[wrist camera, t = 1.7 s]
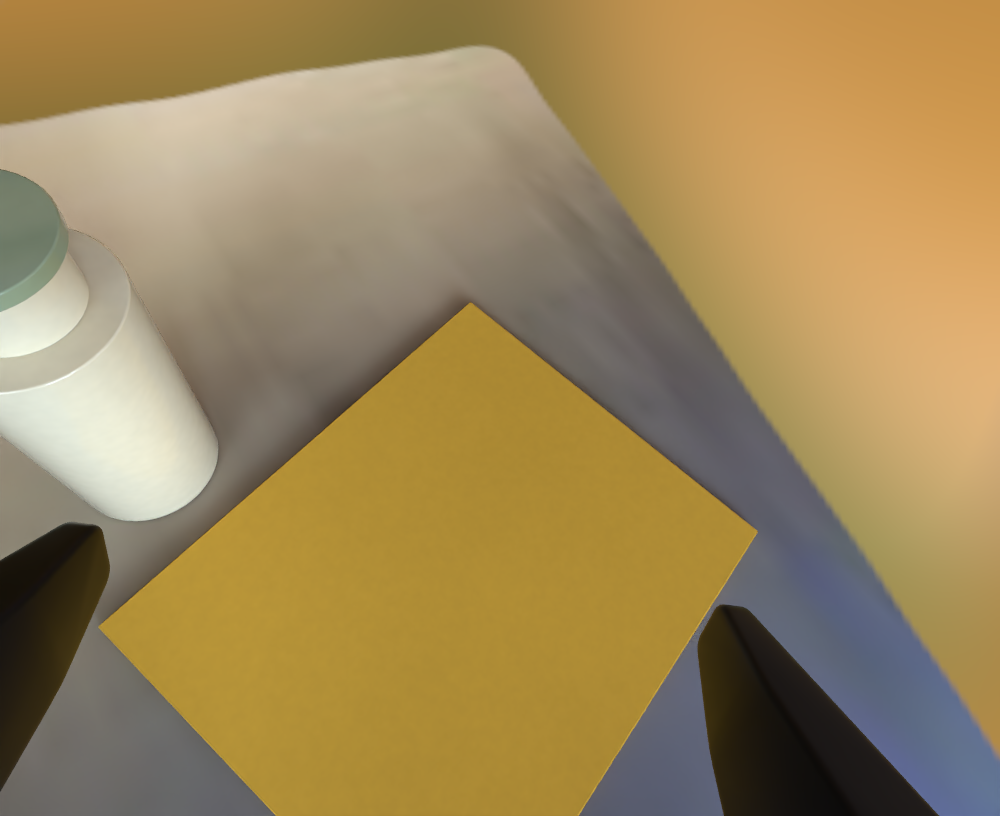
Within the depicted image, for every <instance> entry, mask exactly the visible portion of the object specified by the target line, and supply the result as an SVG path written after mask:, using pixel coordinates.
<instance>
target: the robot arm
mask: <svg viewBox="0 0 1000 816" xmlns="http://www.w3.org/2000/svg"><path fill="white" fill-rule="evenodd" d="M109 572H110V564H109V559H108V554H107V549H106V545H105V540H104V535H103V532H102V529H101V528H100V527H99V526H97V525H93V524H85V523H77V522H67V523H64V524H62V525H60V526H58V527H56V528H55V529H53V530H51V531H50V532H48V533H46V534H45V535H43V536H41V537H39V538H38V539H36V540H34V541H33V542H31V543H29V544H27V545H26V546H24V547H22V548H21V549H19V550H17V551H15V552H14V553H12V554H10V555H9V556H7V557H5V558H3V559H2V560H0V791H1V789H2V788H3V786H4V784H5V782H6V781H7V779H8V777H9V776H10V774H11V772H12V770H13V769H14V767H15V765H16V763H17V762H18V760H19V758H20V756H21V755H22V753H23V751H24V750H25V748H26V746H27V744H28V743H29V741H30V739H31V737H32V736H33V734H34V732H35V730H36V729H37V727H38V725H39V723H40V722H41V720H42V718H43V717H44V715H45V713H46V711H47V710H48V708H49V706H50V704H51V703H52V701H53V699H54V697H55V695H56V693H57V692H58V690H59V688H60V686H61V684H62V682H63V680H64V678H65V676H66V674H67V671H68V669H69V667H70V665H71V663H72V660H73V658H74V656H75V654H76V651H77V649H78V647H79V644H80V642H81V640H82V638H83V635H84V633H85V631H86V629H87V626H88V624H89V622H90V620H91V617H92V615H93V613H94V610H95V608H96V606H97V604H98V601H99V599H100V597H101V595H102V592H103V590H104V588H105V586H106V583H107V581H108V577H109ZM698 660H699V668H700V677H701V685H702V693H703V702H704V710H705V719H706V727H707V735H708V742H709V749H710V755H711V760H712V765H713V769H714V774H715V778H716V783H717V787H718V792H719V796H720V801H721V805H722V809H723V814H724V816H939V815H938V814H937V813H936V812H935V811H934V810H933V809H932V808H931V807H930V805H929V804H928V803H927V802H926V801H925V800H924V799H923V798H922V797H921V796H920V795H919V794H918V792H917V791H916V790H915V789H914V788H913V787H912V786H911V785H910V784H909V783H908V782H907V781H906V779H905V778H904V777H903V776H902V775H901V774H900V773H899V772H898V771H897V770H896V769H895V768H894V766H893V765H892V764H891V763H890V762H889V761H888V760H887V759H886V758H885V757H884V756H883V755H882V754H881V752H880V751H879V750H878V749H877V748H876V747H875V746H874V745H873V744H872V743H871V742H870V741H869V739H868V738H867V737H866V736H865V735H864V734H863V733H862V732H861V731H860V730H859V729H858V728H857V726H856V725H855V724H854V723H853V722H852V721H851V720H850V719H849V718H848V717H847V716H846V715H845V713H844V712H843V711H842V710H841V709H840V708H839V707H838V706H837V705H836V704H835V703H834V702H833V701H832V699H831V698H830V697H829V696H828V695H827V694H826V693H825V692H824V691H823V690H822V689H821V688H820V686H819V685H818V684H817V683H816V682H815V681H814V680H813V679H812V678H811V677H810V676H809V675H808V673H807V672H806V671H805V670H804V669H803V668H802V667H801V666H800V665H799V664H798V663H797V662H796V660H795V659H794V658H793V657H792V656H791V655H790V654H789V653H788V652H787V651H786V650H785V649H784V648H783V646H782V645H781V644H780V643H779V642H778V641H777V640H776V639H775V638H774V637H773V636H772V635H771V633H770V632H769V631H768V630H767V629H766V628H765V627H764V626H763V625H762V624H761V623H760V622H759V620H758V619H757V618H756V617H755V616H754V615H753V614H752V613H751V612H750V611H749V610H748V609H746V608H744V607H740V606H732V605H719V606H718V607H716V609H715V610H714V612H713V614H712V616H711V617H710V619H709V621H708V623H707V624H706V626H705V628H704V630H703V632H702V633H701V635H700V638H699V641H698Z"/></svg>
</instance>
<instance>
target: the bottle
mask: <svg viewBox="0 0 1000 816" xmlns="http://www.w3.org/2000/svg"><path fill="white" fill-rule="evenodd" d="M0 436H1V437H2V438H4V439H5V440H6V441H7V442H9V443H10V444H11V445H13V446H14V447H15V448H16V449H18V450H19V451H20V452H22V453H23V454H24V455H25V456H27V457H28V458H29V459H31V460H32V461H33V462H34V463H36V464H37V465H38V466H40V467H41V468H42V469H43V470H45V471H46V472H47V473H49V474H50V475H51V476H52V477H54V478H55V479H56V480H58V481H59V482H60V483H61V484H63V485H64V486H65V487H67V488H68V489H69V490H70V491H72V492H73V493H74V494H76V495H77V496H78V497H79V498H81V499H82V500H83V501H85V502H86V503H87V504H89V505H90V506H91V507H92V508H94V509H95V510H97V511H98V512H100V513H102V514H104V515H106V516H109V517H112V518H115V519H119V520H126V521H143V520H150V519H155V518H159V517H162V516H165V515H168V514H170V513H172V512H174V511H177V510H178V509H180V508H182V507H183V506H185V505H186V504H188V503H189V502H190V501H192V500H193V499H194V498H195V497H196V496H197V495H198V494H199V493H200V492H201V491H202V490H203V488H204V487H205V486H206V485H207V483H208V481H209V480H210V478H211V476H212V474H213V472H214V470H215V467H216V464H217V458H218V441H217V437H216V433H215V431H214V429H213V427H212V425H211V423H210V421H209V419H208V418H207V416H206V414H205V412H204V410H203V408H202V407H201V405H200V403H199V401H198V399H197V398H196V396H195V394H194V392H193V390H192V389H191V387H190V385H189V383H188V381H187V380H186V378H185V376H184V374H183V372H182V371H181V369H180V367H179V365H178V363H177V362H176V360H175V358H174V356H173V354H172V353H171V351H170V349H169V347H168V345H167V344H166V342H165V340H164V338H163V336H162V335H161V333H160V331H159V329H158V327H157V325H156V324H155V322H154V320H153V318H152V316H151V315H150V313H149V311H148V309H147V307H146V306H145V304H144V302H143V300H142V298H141V297H140V295H139V293H138V291H137V289H136V288H135V286H134V284H133V282H132V280H131V279H130V277H129V275H128V273H127V271H126V270H125V268H124V266H123V264H122V263H121V262H120V260H119V259H118V257H117V256H116V255H115V254H114V253H113V252H112V251H111V250H110V249H109V248H107V247H106V246H105V245H104V244H102V243H101V242H99V241H97V240H96V239H94V238H92V237H90V236H88V235H86V234H83V233H81V232H79V231H75V230H72V229H68V228H67V224H66V221H65V219H64V217H63V215H62V213H61V212H60V210H59V209H58V207H57V205H56V204H55V202H54V201H53V199H52V198H51V196H50V195H49V194H48V193H47V192H46V191H45V190H44V189H43V188H41V187H40V186H39V185H37V184H36V183H34V182H33V181H31V180H29V179H27V178H26V177H23V176H21V175H18V174H16V173H13V172H9V171H6V170H1V169H0Z"/></svg>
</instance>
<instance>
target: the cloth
mask: <svg viewBox="0 0 1000 816" xmlns="http://www.w3.org/2000/svg"><path fill="white" fill-rule="evenodd" d="M757 532H758V531H757V530H756V529H754V528H753V527H752V526H751V525H749V524H748V523H747V522H746V521H744V520H743V519H742V518H741V517H739V516H738V515H737V514H736V513H734V512H733V511H732V510H731V509H729V508H728V507H727V506H726V505H724V504H723V503H722V502H721V501H719V500H718V499H717V498H716V497H714V496H713V495H712V494H710V493H709V492H708V491H707V490H705V489H704V488H703V487H702V486H700V485H699V484H698V483H697V482H695V481H694V480H693V479H692V478H690V477H689V476H688V475H687V474H685V473H684V472H683V471H682V470H680V469H679V468H678V467H677V466H675V465H674V464H673V463H672V462H670V461H669V460H668V459H667V458H665V457H664V456H663V455H662V454H660V453H659V452H658V451H657V450H655V449H654V448H653V447H652V446H650V445H649V444H648V443H647V442H645V441H644V440H643V439H642V438H640V437H639V436H638V435H637V434H635V433H634V432H633V431H632V430H630V429H629V428H628V427H627V426H625V425H624V424H623V423H622V422H620V421H619V420H618V419H617V418H615V417H614V416H613V415H612V414H610V413H609V412H608V411H606V410H605V409H604V408H603V407H601V406H600V405H599V404H598V403H596V402H595V401H594V400H593V399H591V398H590V397H589V396H588V395H586V394H585V393H584V392H583V391H581V390H580V389H579V388H578V387H576V386H575V385H574V384H573V383H571V382H570V381H569V380H568V379H566V378H565V377H564V376H563V375H561V374H560V373H559V372H558V371H556V370H555V369H554V368H553V367H551V366H550V365H549V364H548V363H546V362H545V361H544V360H543V359H541V358H540V357H539V356H538V355H536V354H535V353H534V352H533V351H531V350H530V349H529V348H528V347H526V346H525V345H524V344H523V343H521V342H520V341H519V340H518V339H516V338H515V337H514V336H513V335H511V334H510V333H509V332H507V331H506V330H505V329H504V328H502V327H501V326H500V325H499V324H497V323H496V322H495V321H494V320H492V319H491V318H490V317H489V316H487V315H486V314H485V313H484V312H482V311H481V310H480V309H479V308H477V307H476V306H475V305H474V304H472V303H471V302H470V303H469V304H468V305H466V306H465V307H464V308H463V309H462V310H461V311H459V312H458V313H457V314H456V315H455V316H454V317H453V318H451V319H450V320H449V321H448V322H447V323H446V324H445V325H443V326H442V327H441V328H440V329H439V330H438V331H437V332H435V333H434V334H433V335H432V336H431V337H430V338H429V339H427V340H426V341H425V342H424V343H423V344H422V345H421V346H419V347H418V348H417V349H416V350H415V351H414V352H412V353H411V354H410V355H409V356H408V357H407V358H406V359H404V360H403V361H402V362H401V363H400V364H399V365H398V366H396V367H395V368H394V369H393V370H392V371H391V372H390V373H388V374H387V375H386V376H385V377H384V378H383V379H382V380H380V381H379V382H378V383H377V384H376V385H375V386H374V387H372V388H371V389H370V390H369V391H368V392H367V393H365V394H364V395H363V396H362V397H361V398H360V399H359V400H357V401H356V402H355V403H354V404H353V405H352V406H351V407H349V408H348V409H347V410H346V411H345V412H344V413H343V414H341V415H340V416H339V417H338V418H337V419H336V420H335V421H333V422H332V423H331V424H330V425H329V426H328V427H327V428H325V429H324V430H323V431H322V432H321V433H320V434H318V435H317V436H316V437H315V438H314V439H313V440H312V441H310V442H309V443H308V444H307V445H306V446H305V447H304V448H302V449H301V450H300V451H299V452H298V453H297V454H296V455H294V456H293V457H292V458H291V459H290V460H289V461H288V462H286V463H285V464H284V465H283V466H282V467H281V468H279V469H278V470H277V471H276V472H275V473H274V474H273V475H271V476H270V477H269V478H268V479H267V480H266V481H265V482H263V483H262V484H261V485H260V486H259V487H258V488H257V489H255V490H254V491H253V492H252V493H251V494H250V495H249V496H247V497H246V498H245V499H244V500H243V501H242V502H241V503H239V504H238V505H237V506H236V507H235V508H234V509H232V510H231V511H230V512H229V513H228V514H227V515H226V516H224V517H223V518H222V519H221V520H220V521H219V522H218V523H216V524H215V525H214V526H213V527H212V528H211V529H210V530H208V531H207V532H206V533H205V534H204V535H203V536H202V537H200V538H199V539H198V540H197V541H196V542H195V543H194V544H192V545H191V546H190V547H189V548H188V549H187V550H185V551H184V552H183V553H182V554H181V555H180V556H179V557H177V558H176V559H175V560H174V561H173V562H172V563H171V564H169V565H168V566H167V567H166V568H165V569H164V570H163V571H161V572H160V573H159V574H158V575H157V576H156V577H155V578H153V579H152V580H151V581H150V582H149V583H148V584H147V585H145V586H144V587H143V588H142V589H141V590H140V591H138V592H137V593H136V594H135V595H134V596H133V597H132V598H130V599H129V600H128V601H127V602H126V603H125V604H124V605H122V606H121V607H120V608H119V609H118V610H117V611H116V612H114V613H113V614H112V615H111V616H110V617H109V618H108V619H106V620H105V621H104V622H103V623H102V624H101V625H100V626H99V628H100V629H101V631H102V632H103V633H104V634H105V635H106V636H107V637H108V638H109V639H110V640H111V641H112V642H113V643H114V644H115V645H116V646H117V648H118V649H119V650H120V651H121V652H122V653H123V654H124V655H125V656H126V657H127V658H128V659H129V660H130V661H131V662H132V663H133V664H134V666H135V667H136V668H137V669H138V670H139V671H140V672H141V673H142V674H143V675H144V676H145V677H146V678H147V679H148V680H149V681H150V683H151V684H152V685H153V686H154V687H155V688H156V689H157V690H158V691H159V692H160V693H161V694H162V695H163V696H164V697H165V698H166V699H167V701H168V702H169V703H170V704H171V705H172V706H173V707H174V708H175V709H176V710H177V711H178V712H179V713H180V714H181V715H182V716H183V718H184V719H185V720H186V721H187V722H188V723H189V724H190V725H191V726H192V727H193V728H194V729H195V730H196V731H197V732H198V733H199V734H200V736H201V737H202V738H203V739H204V740H205V741H206V742H207V743H208V744H209V745H210V746H211V747H212V748H213V749H214V750H215V751H216V753H217V754H218V755H219V756H220V757H221V758H222V759H223V760H224V761H225V762H226V763H227V764H228V765H229V766H230V767H231V768H232V769H233V771H234V772H235V773H236V774H237V775H238V776H239V777H240V778H241V779H242V780H243V781H244V782H245V783H246V784H247V785H248V786H249V788H250V789H251V790H252V791H253V792H254V793H255V794H256V795H257V796H258V797H259V798H260V799H261V800H262V801H263V802H264V803H265V804H266V806H267V807H268V808H269V809H270V810H271V811H272V812H273V813H274V814H275V815H276V816H578V815H579V814H580V812H581V811H582V809H583V808H584V806H585V804H586V803H587V801H588V800H589V798H590V797H591V795H592V793H593V792H594V790H595V789H596V787H597V785H598V784H599V782H600V781H601V779H602V778H603V776H604V774H605V773H606V771H607V770H608V768H609V766H610V765H611V763H612V762H613V760H614V759H615V757H616V755H617V754H618V752H619V751H620V749H621V747H622V746H623V744H624V743H625V741H626V740H627V738H628V736H629V735H630V733H631V732H632V730H633V729H634V727H635V725H636V724H637V722H638V721H639V719H640V717H641V716H642V714H643V713H644V711H645V710H646V708H647V706H648V705H649V703H650V702H651V700H652V698H653V697H654V695H655V694H656V692H657V691H658V689H659V687H660V686H661V684H662V683H663V681H664V679H665V678H666V676H667V675H668V673H669V672H670V670H671V668H672V667H673V665H674V664H675V662H676V660H677V659H678V657H679V656H680V654H681V653H682V651H683V649H684V648H685V646H686V645H687V643H688V642H689V640H690V638H691V637H692V635H693V634H694V632H695V630H696V629H697V627H698V626H699V624H700V623H701V621H702V619H703V618H704V616H705V615H706V613H707V611H708V610H709V608H710V607H711V605H712V604H713V602H714V600H715V599H716V597H717V596H718V594H719V592H720V591H721V589H722V588H723V586H724V585H725V583H726V581H727V580H728V578H729V577H730V575H731V573H732V572H733V570H734V569H735V567H736V566H737V564H738V562H739V561H740V559H741V558H742V556H743V555H744V553H745V551H746V550H747V548H748V547H749V545H750V543H751V542H752V540H753V539H754V537H755V536H756V534H757Z"/></svg>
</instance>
